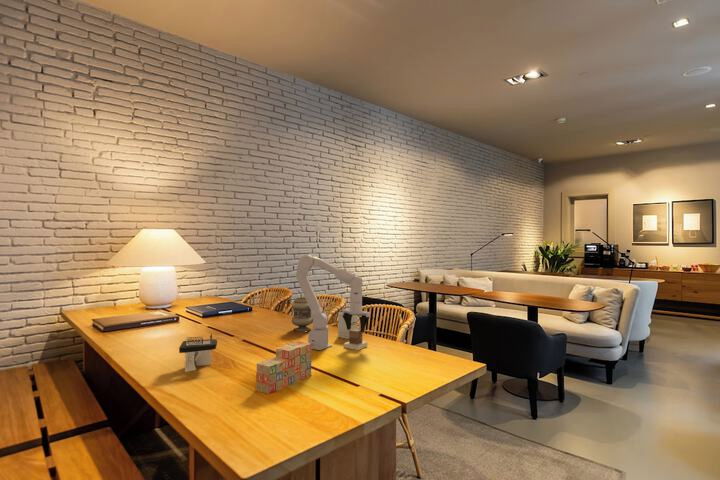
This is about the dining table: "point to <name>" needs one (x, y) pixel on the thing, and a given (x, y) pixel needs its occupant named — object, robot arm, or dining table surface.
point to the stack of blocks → (284, 367)
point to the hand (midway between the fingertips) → (355, 330)
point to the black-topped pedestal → (197, 352)
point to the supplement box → (342, 325)
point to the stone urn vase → (301, 314)
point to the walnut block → (355, 336)
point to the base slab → (355, 345)
